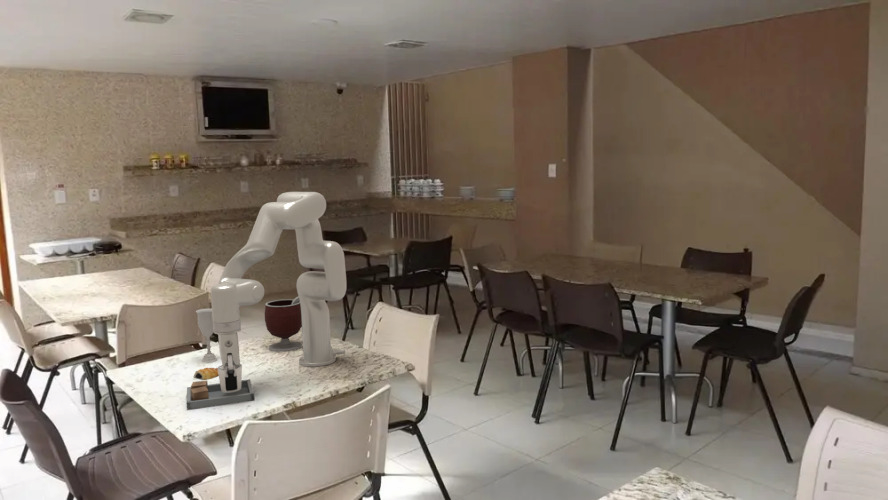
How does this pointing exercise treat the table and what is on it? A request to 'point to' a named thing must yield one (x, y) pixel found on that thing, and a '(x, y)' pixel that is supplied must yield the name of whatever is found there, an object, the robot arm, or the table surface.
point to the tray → (222, 396)
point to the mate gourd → (283, 323)
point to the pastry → (206, 373)
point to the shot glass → (223, 374)
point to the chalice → (206, 331)
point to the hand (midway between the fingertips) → (231, 385)
